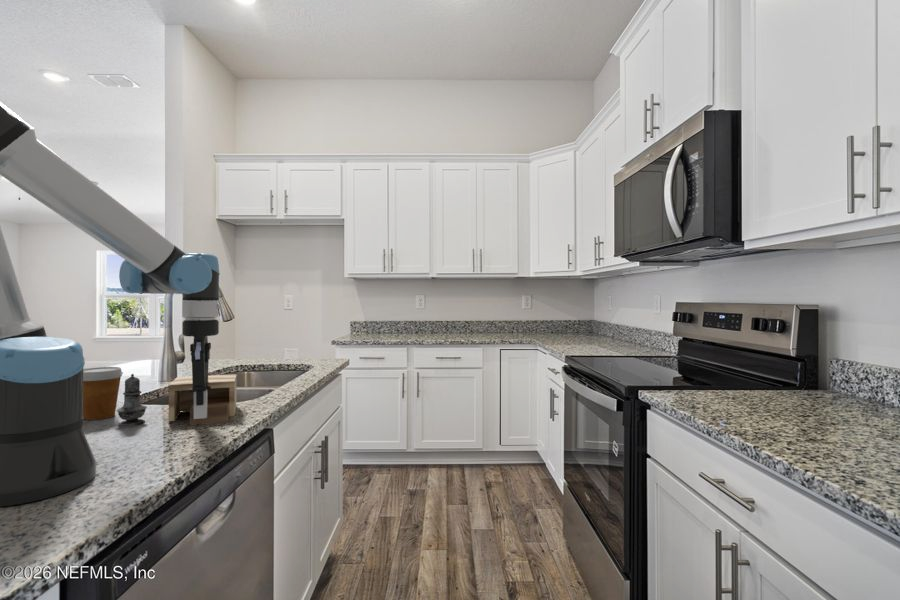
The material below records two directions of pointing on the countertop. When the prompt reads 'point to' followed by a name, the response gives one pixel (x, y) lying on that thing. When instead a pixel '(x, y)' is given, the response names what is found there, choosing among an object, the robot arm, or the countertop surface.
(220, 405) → the dark brown block
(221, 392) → the oak bridge
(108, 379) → the disposable coffee cup
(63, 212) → the robot arm
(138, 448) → the countertop surface
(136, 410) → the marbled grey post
